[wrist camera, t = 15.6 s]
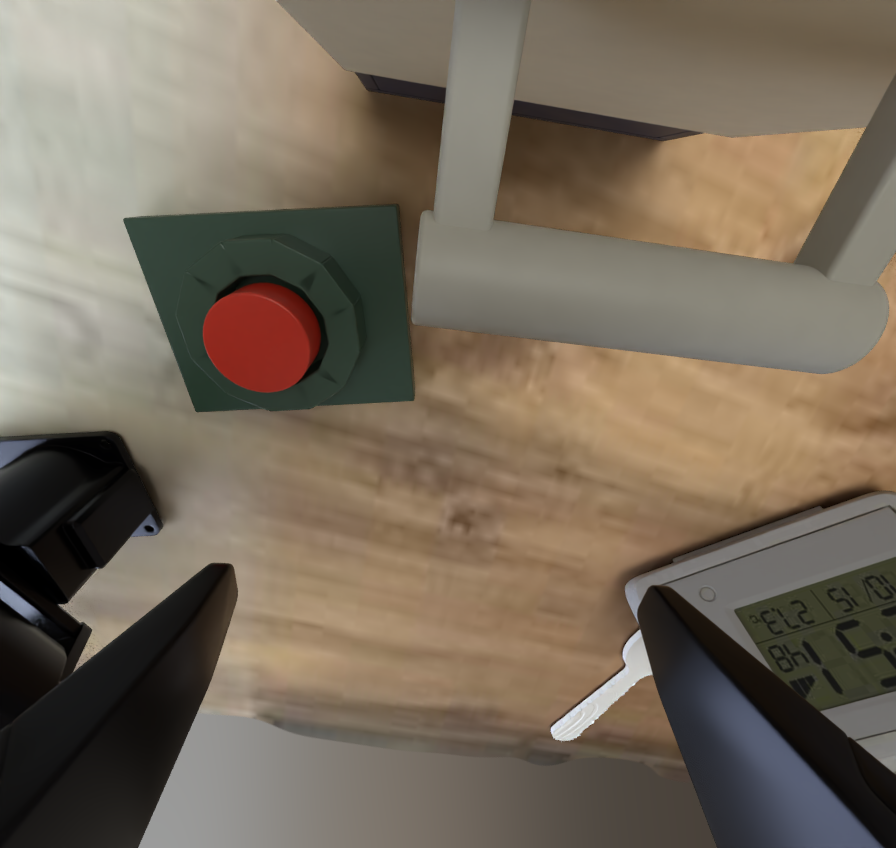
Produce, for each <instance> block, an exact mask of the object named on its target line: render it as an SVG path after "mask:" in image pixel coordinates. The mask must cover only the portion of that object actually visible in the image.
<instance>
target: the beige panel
mask: <svg viewBox="0 0 896 848" xmlns="http://www.w3.org/2000/svg"><path fill="white" fill-rule="evenodd" d="M276 1H277V2H278V3H279V4H280V5H281V6H282V7H283V8H284V9H285V10H286V11H287V12H288V13H289V14H290V15H291V16H292V17H293V18H294V19H295V20H296V21H297V22H298V23H299V24H300V25H301V26H302V27H303V28H304V29H305V30H306V31H307V32H308V33H309V34H310V35H311V36H312V37H313V38H314V39H315V40H316V41H317V42H318V43H319V44H320V45H321V46H322V47H323V48H324V49H325V50H326V51H327V52H328V53H329V54H330V55H331V56H332V58H333V59H334V60H335V61H336V62H337V63H338V64H339V65H340V66H341V67H342V68H343V69H345V70H347V71H353V72H358V73H364V74H370V75H375V76H381V77H387V78H393V79H398V80H404V81H410V82H416V83H421V84H427V85H433V86H439V87H444V88H446V97H445V106H444V116H443V126H442V135H441V145H440V154H439V164H438V174H437V183H436V193H435V202H434V211H431V210H425V211H423V212H422V214H421V218H420V225H419V234H418V244H417V254H416V264H415V275H414V286H413V298H412V311H411V320H412V323H413V324H415V325H420V326H428V327H436V328H444V329H453V330H461V331H469V332H477V333H486V334H494V335H502V336H510V337H519V338H527V339H535V340H543V341H552V342H560V343H568V344H577V345H585V346H593V347H601V348H610V349H618V350H626V351H634V352H643V353H651V354H659V355H667V356H676V357H684V358H692V359H700V360H709V361H717V362H725V363H733V364H742V365H750V366H758V367H767V368H775V369H783V370H791V371H800V372H808V373H816V374H828V373H833V372H837V371H840V370H843V369H845V368H848V367H850V366H852V365H853V364H855V363H857V362H858V361H860V360H861V359H862V358H863V357H865V356H866V355H867V354H868V353H869V352H870V351H871V350H872V349H873V347H874V346H875V345H876V344H877V342H878V341H879V339H880V337H881V336H882V334H883V332H884V330H885V327H886V324H887V321H888V316H889V301H888V298H887V294H886V292H885V290H884V289H883V287H882V286H881V285H880V284H879V283H878V282H877V280H878V278H879V277H880V275H881V274H882V272H883V270H884V269H885V267H886V266H887V264H888V263H889V261H890V260H891V258H892V257H893V255H894V254H895V252H896V0H276ZM514 100H519V101H525V102H530V103H536V104H542V105H547V106H553V107H559V108H565V109H570V110H576V111H582V112H588V113H593V114H599V115H605V116H611V117H616V118H622V119H628V120H634V121H639V122H645V123H651V124H656V125H662V126H668V127H674V128H679V129H685V130H691V131H697V132H702V133H708V134H714V135H720V136H725V137H731V138H734V137H747V136H760V135H773V134H785V133H798V132H811V131H824V130H837V129H850V128H863V127H866V129H865V131H864V133H863V135H862V136H861V138H860V140H859V142H858V144H857V146H856V148H855V150H854V151H853V153H852V155H851V157H850V159H849V161H848V163H847V164H846V166H845V168H844V170H843V172H842V174H841V176H840V177H839V179H838V181H837V183H836V185H835V187H834V189H833V190H832V192H831V194H830V196H829V198H828V200H827V202H826V204H825V205H824V207H823V209H822V211H821V213H820V215H819V217H818V218H817V220H816V222H815V224H814V226H813V228H812V230H811V231H810V233H809V235H808V237H807V239H806V241H805V243H804V244H803V246H802V248H801V250H800V252H799V254H798V256H797V258H796V259H795V261H794V263H793V264H792V263H785V262H778V261H772V260H765V259H758V258H751V257H744V256H737V255H731V254H724V253H717V252H710V251H703V250H697V249H690V248H683V247H676V246H669V245H662V244H656V243H649V242H642V241H635V240H628V239H622V238H615V237H608V236H601V235H594V234H587V233H581V232H574V231H567V230H560V229H553V228H547V227H540V226H533V225H526V224H519V223H513V222H506V221H499V220H493V219H494V214H495V208H496V202H497V196H498V191H499V185H500V179H501V173H502V167H503V162H504V156H505V150H506V144H507V138H508V133H509V127H510V121H511V115H512V109H513V104H514Z"/></svg>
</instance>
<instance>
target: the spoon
mask: <svg viewBox="0 0 896 848" xmlns="http://www.w3.org/2000/svg"><path fill="white" fill-rule="evenodd" d="M623 659H624V661H625V663H626V664H625V665H626V666H625V668H624V669H623V670H622V671H620V672H619V673H618V674H617V675H616V676H615V677H613V678H612V679H611V680H609V681H608V682H607V683H606V684H604V685H603V686H602V687H601V688H599V689H598V690H597V691H595V692H594V693H593V694H592V695H591V696H589V697H588V698H587V699H585V700H584V701H583V702H582V703H581V704H579V705H578V706H577V707H576V708H574V709H573V710H572V711H571V712H569V713H568V714H567V715H565V716H564V717H563V718H562V719H560V720H559V721H558V722H556V723H555V724H554V725H553V726H552V727H551V733H552V736H553V739H554V738H555V739H557V740H560V741H562V740H563V741H566V740H569V741H570V740H571V739H572V740H573V738H575V737H576V738H577V736H580V733H582V731H583V730H584V729H585V728H588V727H589V726H588V725H591V724H593V723H594V720H596V719H599V718H598V717H599V716H600V715H601V714H602V713H604V711H606V710H607V708H608V707H610V705H611V704H614V701H618V698H619V697H620V696H622V695H625V694H624V693H625V692H627V691H628V689H629V688H630V687H631V686H633V685H635V683H636V682H637V681H638V680H639V679H640V678H642V679H643V677H644V676H649V675H653V673H652V670H651V666H650V663H649V659H648V655H647V652H646V648H645V645H644V641H643V637H642V634H641V630H638V631H637V632H636V633H635V634H634V635H633V636H632V637H631V638H630V639H629V640H628V642H627V643H626V644H625V646H624V649H623ZM644 678H645V677H644Z"/></svg>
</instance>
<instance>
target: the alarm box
mask: <svg viewBox="0 0 896 848" xmlns="http://www.w3.org/2000/svg"><path fill="white" fill-rule="evenodd" d="M123 221H124V224H125V226H126V229H127V232H128V234H129V237H130V240H131V242H132V245H133V247H134V250H135V253H136V255H137V258H138V261H139V263H140V266H141V269H142V271H143V274H144V276H145V279H146V282H147V284H148V287H149V290H150V292H151V295H152V297H153V300H154V303H155V305H156V308H157V311H158V313H159V316H160V319H161V321H162V324H163V326H164V329H165V332H166V334H167V337H168V340H169V342H170V345H171V348H172V350H173V353H174V355H175V358H176V361H177V363H178V366H179V369H180V371H181V374H182V377H183V379H184V382H185V384H186V387H187V390H188V392H189V395H190V398H191V400H192V403H193V406H194V408H195V411H196V412H210V411H229V410H248V409H265V410H269V411H284V410H303V409H311V408H314V407H315V406H324V405H343V404H362V403H381V402H400V401H414V399H415V381H414V370H413V358H412V347H411V336H410V324H409V313H408V302H407V290H406V279H405V268H404V256H403V245H402V234H401V222H400V211H399V205H398V204H384V205H363V206H343V207H322V208H302V209H282V210H261V211H241V212H220V213H200V214H179V215H159V216H140V217H131V218H124V219H123ZM260 282H261V283H273V284H277V285H281V286H283V287H285V288H288V289H289V290H291V291H293V292H295V293H296V294H297V295H299V296H300V297H301V298H302V299H303V300H304V301H305V302H306V303H307V304H308V305H309V306H310V308H311V309H312V311H313V312H314V314H315V316H316V318H317V320H318V323H319V327H320V332H321V344H320V349H319V352H318V354H317V356H316V358H315V359H314V361H313V362H312V364H311V365H310V367H309V368H308V370H307V371H306V373H305V374H304V375H303V377H302V378H301V379H300V380H299V381H298V382H297V383H296V384H294V385H293V386H291V387H289V388H287V389H285V390H282V391H278V392H270V393H267V392H256V391H252V390H248V389H246V388H243V387H241V386H239V385H237V384H235V383H233V382H232V381H230V380H229V379H228V378H226V377H225V376H224V375H223V374H222V373H221V372H220V371H219V370H218V369H217V368H216V367H215V365H214V364H213V363H212V361H211V359H210V358H209V356H208V354H207V351H206V349H205V345H204V341H203V325H204V320H205V317H206V315H207V313H208V311H209V310H210V308H211V307H212V306H213V305H214V304H215V303H216V302H217V301H218V300H220V299H222V298H223V297H225V296H227V295H229V294H231V293H232V292H234V291H236V290H238V289H240V288H242V287H244V286H246V285H249V284H253V283H260Z"/></svg>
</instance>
